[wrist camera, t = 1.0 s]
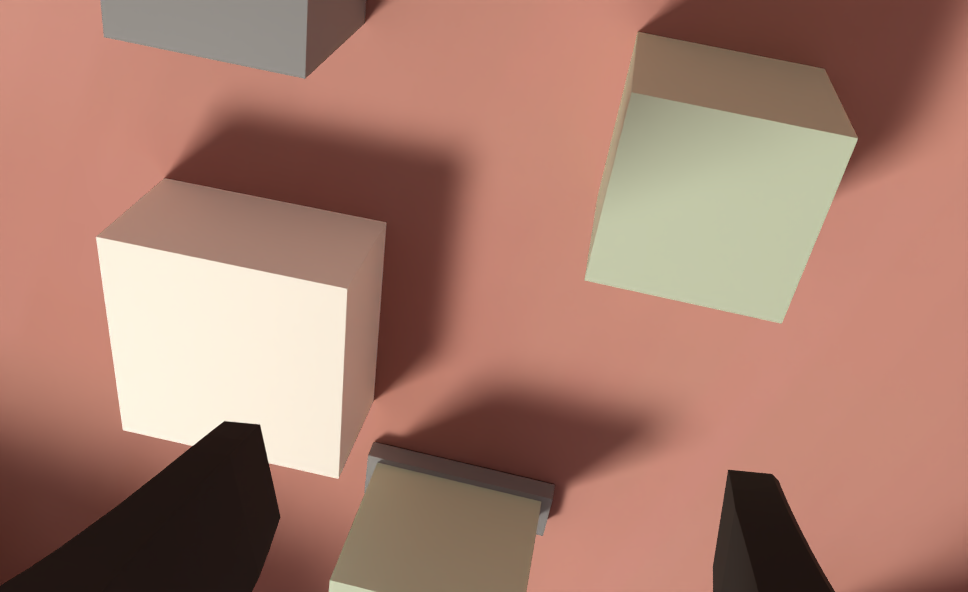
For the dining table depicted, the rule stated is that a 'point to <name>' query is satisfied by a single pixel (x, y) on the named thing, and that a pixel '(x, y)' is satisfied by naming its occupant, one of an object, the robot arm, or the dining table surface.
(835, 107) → the sage cube
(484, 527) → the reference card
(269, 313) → the offwhite block
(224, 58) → the gray cube
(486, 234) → the dining table surface
